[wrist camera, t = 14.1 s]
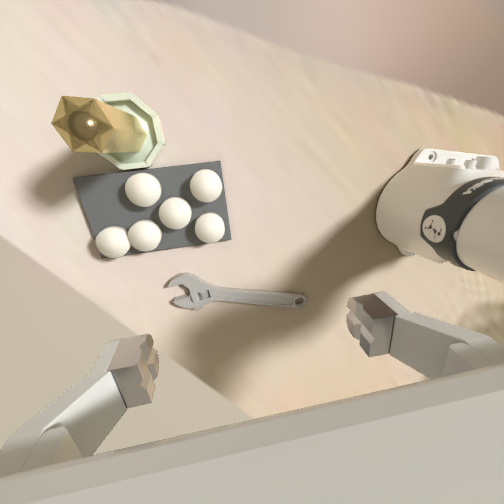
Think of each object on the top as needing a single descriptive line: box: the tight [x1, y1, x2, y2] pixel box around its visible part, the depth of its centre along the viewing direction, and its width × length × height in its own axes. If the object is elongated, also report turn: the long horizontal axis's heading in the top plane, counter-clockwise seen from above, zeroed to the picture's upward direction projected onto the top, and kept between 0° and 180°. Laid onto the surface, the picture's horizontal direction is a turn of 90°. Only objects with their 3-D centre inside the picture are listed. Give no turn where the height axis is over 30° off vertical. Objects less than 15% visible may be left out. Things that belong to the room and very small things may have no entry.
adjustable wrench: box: [168, 273, 307, 311], centre depth 46 cm, size 25×6×2 cm, turn 74°
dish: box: [97, 93, 165, 170], centre depth 33 cm, size 9×9×2 cm
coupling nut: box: [51, 96, 147, 153], centre depth 27 cm, size 4×5×13 cm
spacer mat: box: [73, 161, 231, 259], centre depth 37 cm, size 20×12×3 cm, turn 96°
